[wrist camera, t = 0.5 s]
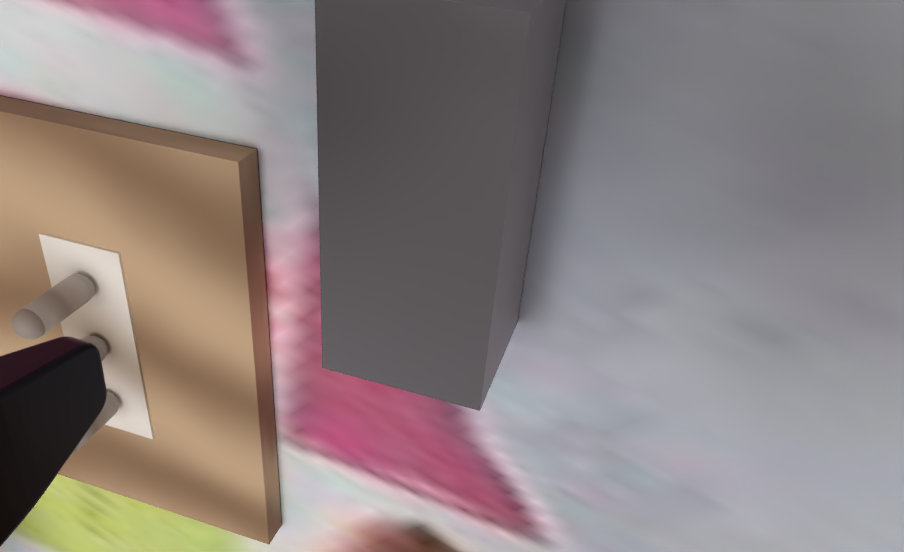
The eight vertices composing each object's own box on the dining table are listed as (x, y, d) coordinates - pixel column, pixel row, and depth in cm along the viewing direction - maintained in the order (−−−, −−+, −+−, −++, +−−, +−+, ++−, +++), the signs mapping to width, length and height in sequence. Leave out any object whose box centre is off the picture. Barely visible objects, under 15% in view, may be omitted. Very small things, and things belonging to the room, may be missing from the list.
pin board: (281, 524, 30) (226, 610, 27) (30, 442, 32) (-48, 512, 29) (256, 149, 21) (171, 207, 18) (-81, 78, 24) (-209, 119, 21)
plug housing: (517, 321, 22) (479, 410, 18) (381, 288, 22) (322, 367, 19) (570, -24, 17) (531, 12, 13) (391, -49, 17) (314, -20, 14)
